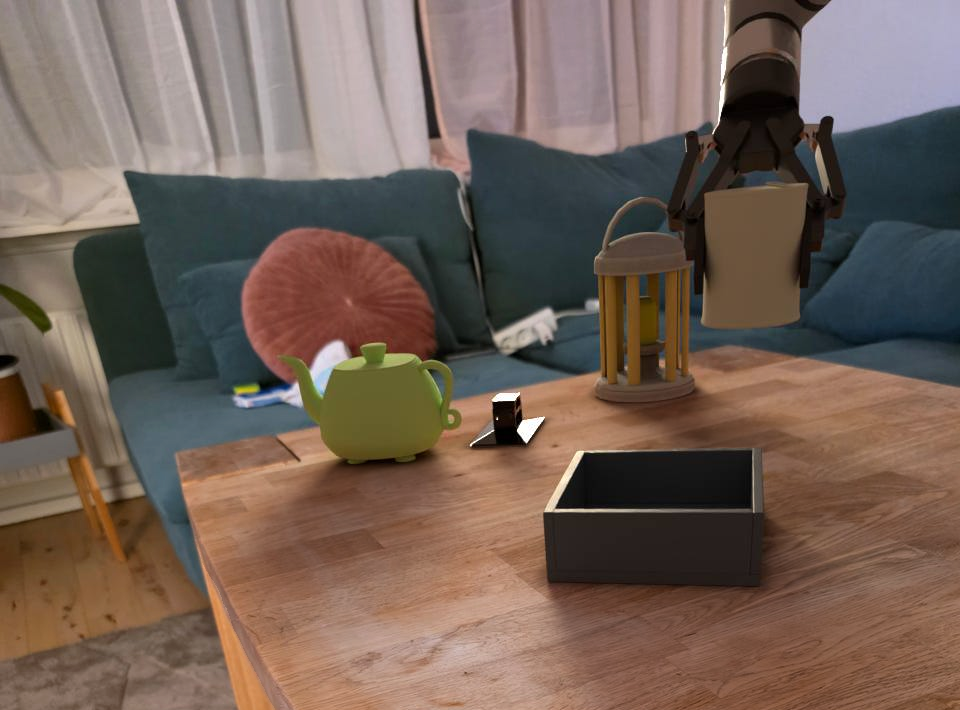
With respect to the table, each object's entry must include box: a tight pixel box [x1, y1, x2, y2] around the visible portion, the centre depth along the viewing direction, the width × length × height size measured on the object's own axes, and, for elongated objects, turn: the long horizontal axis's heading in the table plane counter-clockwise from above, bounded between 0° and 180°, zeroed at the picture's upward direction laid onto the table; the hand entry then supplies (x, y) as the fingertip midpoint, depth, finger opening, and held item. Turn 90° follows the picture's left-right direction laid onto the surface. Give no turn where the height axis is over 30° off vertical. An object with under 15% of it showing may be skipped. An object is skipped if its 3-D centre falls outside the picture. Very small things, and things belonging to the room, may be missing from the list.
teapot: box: [277, 342, 463, 465], centre depth 109 cm, size 22×15×13 cm
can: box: [700, 181, 809, 330], centre depth 84 cm, size 9×9×12 cm
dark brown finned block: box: [469, 392, 545, 448], centre depth 113 cm, size 12×7×5 cm, turn 166°
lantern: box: [593, 196, 696, 403], centre depth 122 cm, size 14×14×25 cm
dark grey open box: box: [542, 447, 765, 587], centre depth 76 cm, size 17×17×6 cm
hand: (750, 281), depth 82 cm, fingers closed on can, 9 cm apart
